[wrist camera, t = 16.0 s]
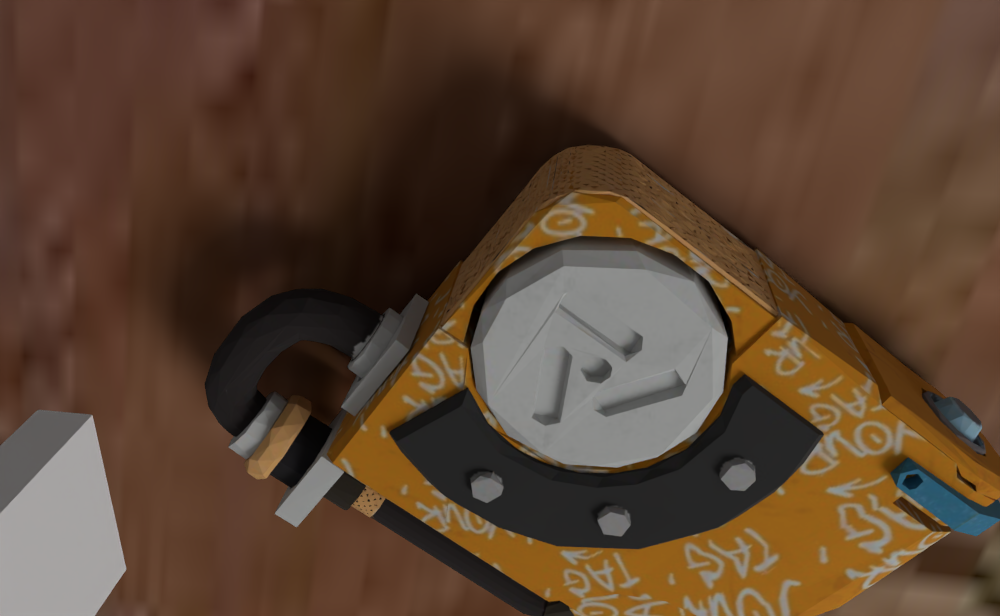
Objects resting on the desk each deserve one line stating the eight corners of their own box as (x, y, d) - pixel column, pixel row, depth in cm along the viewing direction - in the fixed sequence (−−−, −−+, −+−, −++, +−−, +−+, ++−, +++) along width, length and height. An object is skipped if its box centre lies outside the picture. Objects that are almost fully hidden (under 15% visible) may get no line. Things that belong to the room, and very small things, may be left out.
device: (672, 795, 42) (130, 467, 36) (662, 658, 50) (210, 366, 44) (1079, 528, 33) (431, 24, 27) (992, 406, 40) (469, -11, 34)
